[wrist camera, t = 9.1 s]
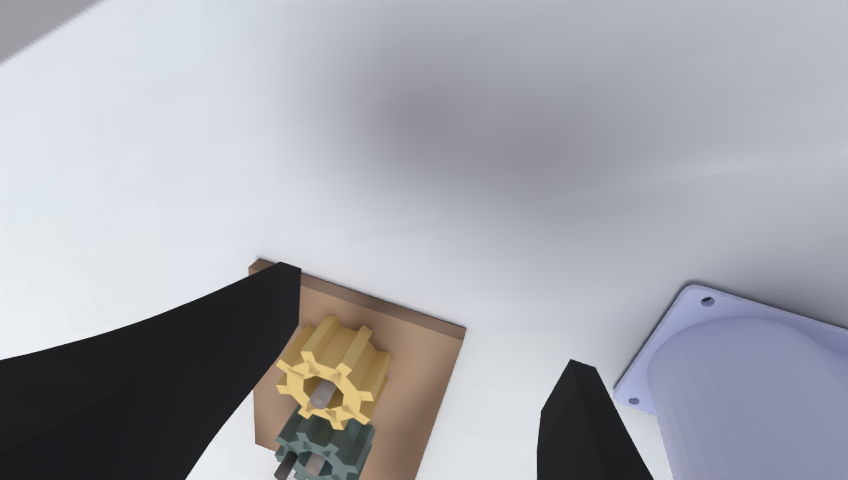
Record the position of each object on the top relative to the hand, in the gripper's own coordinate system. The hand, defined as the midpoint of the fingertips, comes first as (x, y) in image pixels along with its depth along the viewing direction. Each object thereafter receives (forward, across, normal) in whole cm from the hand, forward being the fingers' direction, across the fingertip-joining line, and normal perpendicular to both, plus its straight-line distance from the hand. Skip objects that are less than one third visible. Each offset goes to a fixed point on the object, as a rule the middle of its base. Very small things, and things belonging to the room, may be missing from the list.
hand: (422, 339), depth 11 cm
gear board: (+10, +5, +17) cm, 20 cm away
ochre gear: (+9, +5, +12) cm, 16 cm away
